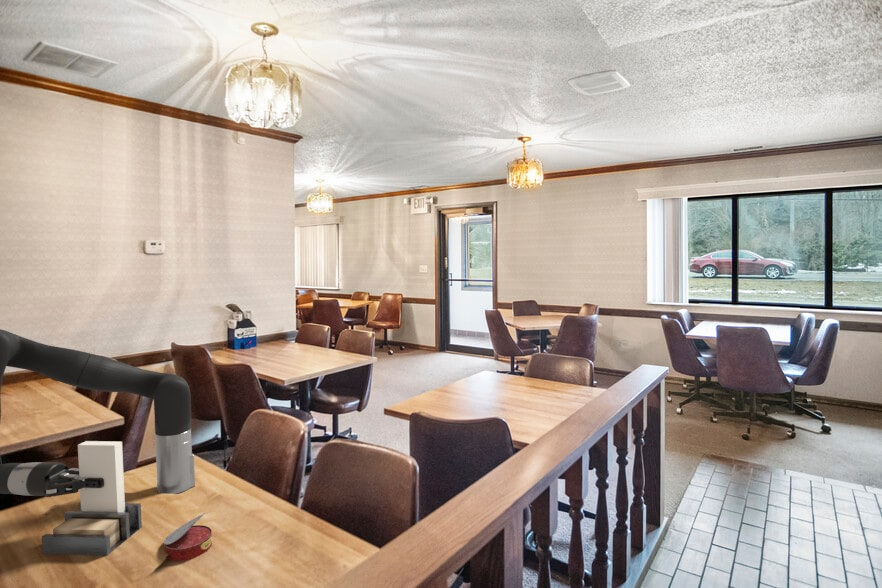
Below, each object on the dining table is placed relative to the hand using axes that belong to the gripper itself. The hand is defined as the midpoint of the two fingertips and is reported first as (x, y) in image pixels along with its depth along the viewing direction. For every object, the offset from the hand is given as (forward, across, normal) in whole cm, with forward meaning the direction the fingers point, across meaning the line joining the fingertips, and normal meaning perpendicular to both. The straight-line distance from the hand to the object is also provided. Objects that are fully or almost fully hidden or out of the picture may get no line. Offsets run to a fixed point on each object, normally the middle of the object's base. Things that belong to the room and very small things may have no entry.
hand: (107, 480), depth 116 cm
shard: (-20, +11, +15) cm, 27 cm away
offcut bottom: (-1, -5, +13) cm, 14 cm away
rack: (-1, -3, +14) cm, 15 cm away
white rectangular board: (-1, 0, +13) cm, 13 cm away
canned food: (+21, -3, +15) cm, 26 cm away
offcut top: (-1, -5, +10) cm, 12 cm away
